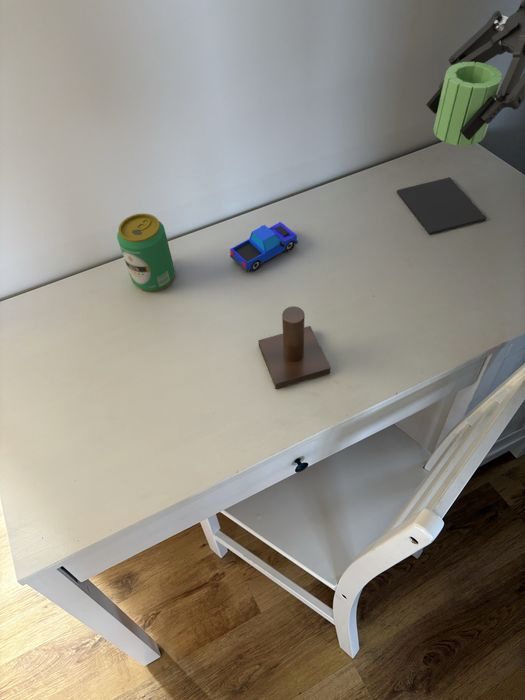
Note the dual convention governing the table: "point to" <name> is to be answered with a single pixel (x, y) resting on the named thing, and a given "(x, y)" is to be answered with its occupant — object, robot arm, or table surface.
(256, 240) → the toy car
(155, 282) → the beverage can
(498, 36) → the robot arm
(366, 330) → the table surface
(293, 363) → the stacking stand
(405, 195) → the rubber mat
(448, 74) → the green tube
